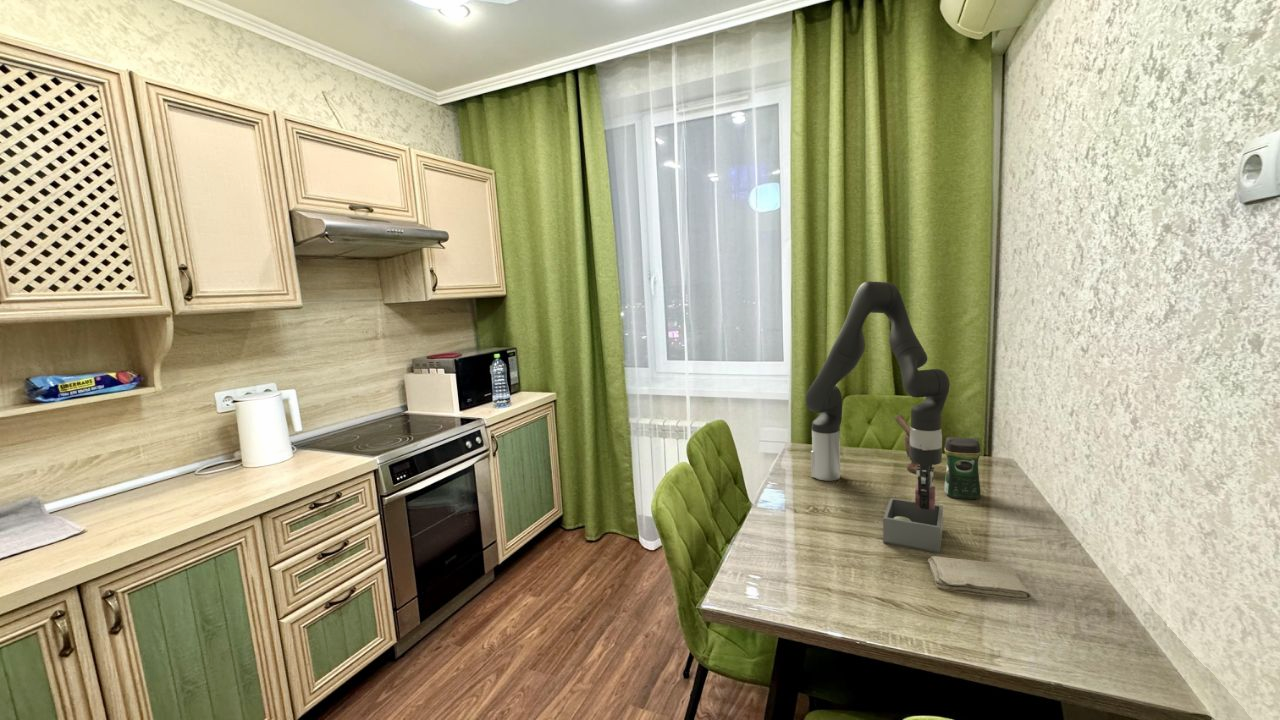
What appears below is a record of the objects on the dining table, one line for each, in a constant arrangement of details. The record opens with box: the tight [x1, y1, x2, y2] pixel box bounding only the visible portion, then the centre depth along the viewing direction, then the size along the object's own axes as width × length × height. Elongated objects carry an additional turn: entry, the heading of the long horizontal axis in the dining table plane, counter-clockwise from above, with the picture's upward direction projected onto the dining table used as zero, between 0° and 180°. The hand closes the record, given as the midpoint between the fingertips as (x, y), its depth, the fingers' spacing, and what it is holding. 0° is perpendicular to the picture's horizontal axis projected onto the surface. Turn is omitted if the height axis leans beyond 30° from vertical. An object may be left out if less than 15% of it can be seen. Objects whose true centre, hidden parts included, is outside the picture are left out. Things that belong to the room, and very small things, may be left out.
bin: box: [882, 497, 944, 555], centre depth 137 cm, size 13×14×7 cm
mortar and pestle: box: [894, 414, 919, 474], centre depth 181 cm, size 12×9×20 cm
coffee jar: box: [943, 436, 982, 500], centre depth 158 cm, size 10×8×19 cm
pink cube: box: [914, 484, 936, 511], centre depth 137 cm, size 4×4×5 cm
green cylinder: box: [893, 516, 911, 521], centre depth 136 cm, size 4×4×5 cm
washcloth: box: [927, 556, 1033, 601], centre depth 116 cm, size 12×18×3 cm, turn 71°
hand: (925, 504), depth 137 cm, fingers closed on pink cube, 4 cm apart
